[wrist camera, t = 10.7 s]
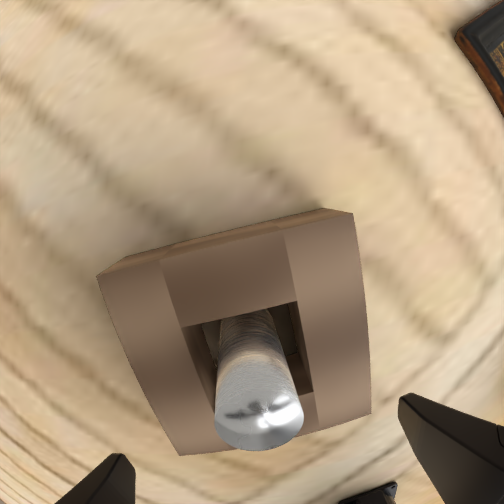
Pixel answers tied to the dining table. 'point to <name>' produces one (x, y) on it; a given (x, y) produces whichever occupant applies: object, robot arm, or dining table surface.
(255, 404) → the cylinder
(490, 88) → the framed icon painting
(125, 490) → the robot arm
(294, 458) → the dining table surface
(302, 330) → the square hollow frame
